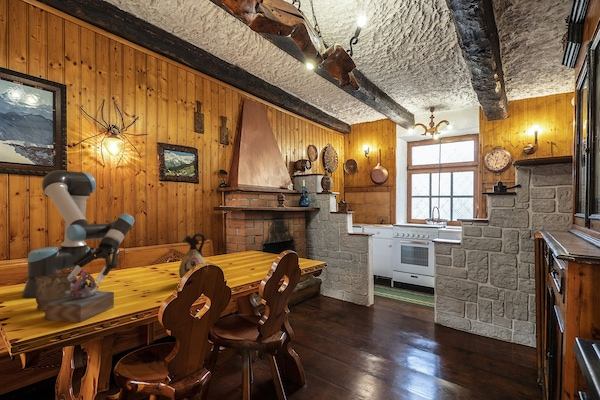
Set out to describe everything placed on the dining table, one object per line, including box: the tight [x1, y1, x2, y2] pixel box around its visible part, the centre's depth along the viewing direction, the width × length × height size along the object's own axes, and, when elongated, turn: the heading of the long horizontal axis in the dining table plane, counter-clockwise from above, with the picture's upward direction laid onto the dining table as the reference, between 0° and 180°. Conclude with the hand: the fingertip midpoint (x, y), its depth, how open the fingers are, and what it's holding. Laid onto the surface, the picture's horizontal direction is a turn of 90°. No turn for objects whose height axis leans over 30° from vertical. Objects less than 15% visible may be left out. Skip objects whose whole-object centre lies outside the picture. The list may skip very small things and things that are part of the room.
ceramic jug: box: [178, 232, 207, 279], centre depth 173 cm, size 17×15×30 cm
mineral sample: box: [35, 271, 78, 311], centre depth 131 cm, size 17×4×15 cm, turn 112°
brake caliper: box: [64, 269, 99, 299], centre depth 125 cm, size 11×11×12 cm
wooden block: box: [44, 290, 115, 323], centre depth 124 cm, size 16×17×7 cm
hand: (83, 280), depth 125 cm, fingers open, 13 cm apart
